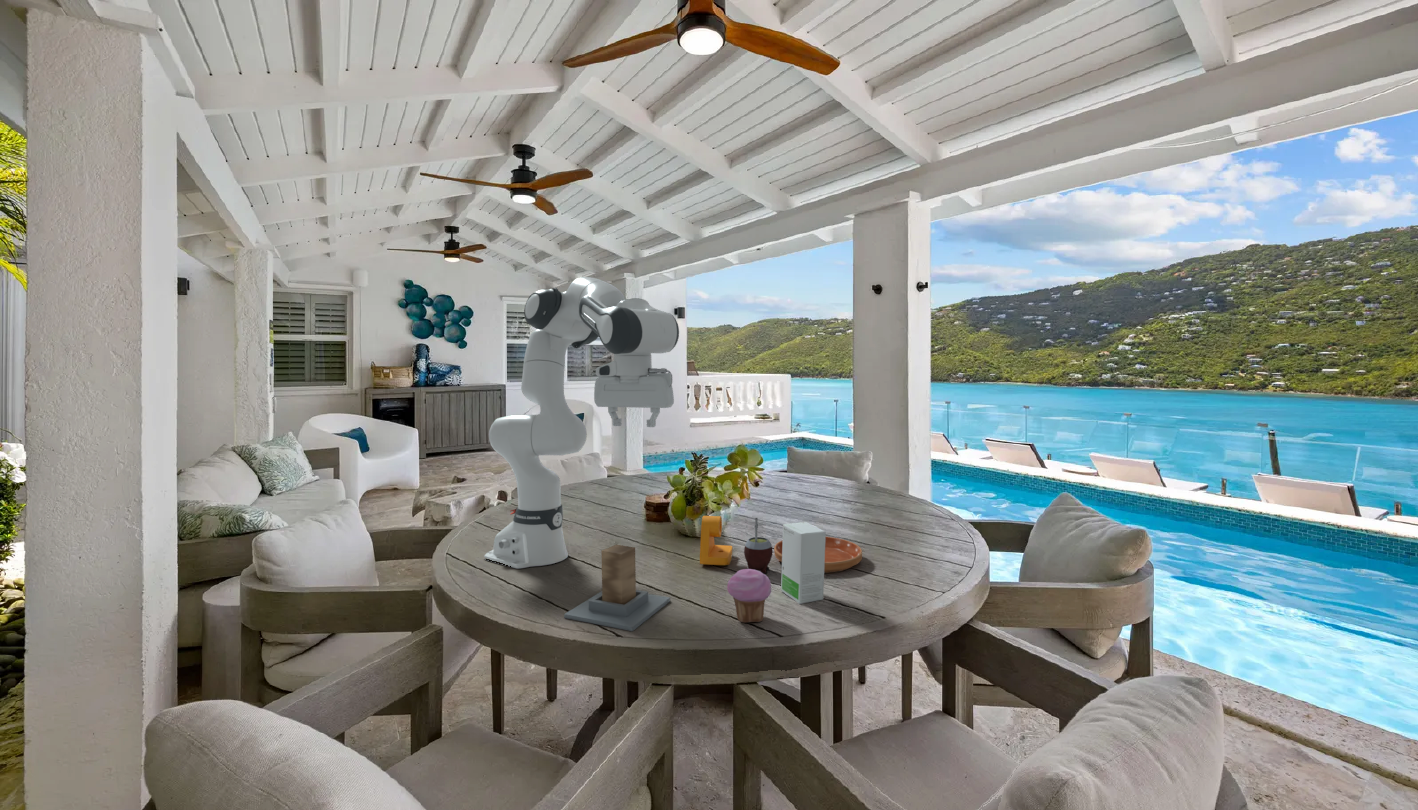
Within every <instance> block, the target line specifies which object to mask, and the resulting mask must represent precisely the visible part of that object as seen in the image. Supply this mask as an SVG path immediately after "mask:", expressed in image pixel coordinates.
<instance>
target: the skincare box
mask: <svg viewBox="0 0 1418 810" xmlns="http://www.w3.org/2000/svg"><path fill="white" fill-rule="evenodd" d="M826 534H827V532H826V530H823V529H821V528H819V527H818V526H817V525H813V524H811V523H809V522H807V521H801V522H792V523H784V524H782V540H783V542H782V562H781V575H780V576H781V580H780V582H781V583H780V585H781V586H780V591H781V592H782V593H783V594H786V596H787V597H789V598H791V599H792V600H794V601H795V602H796V603H797V604H799V605H802V604H807V603H812V602H818V601H823V600H824V592H825V591H824V586H825V585H824V584H825V583H824V582H825V573H824V564H825V537H827V535H826Z"/></svg>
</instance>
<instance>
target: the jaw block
mask: <svg viewBox="0 0 1418 810" xmlns="http://www.w3.org/2000/svg"><path fill="white" fill-rule="evenodd" d="M636 574H637V573H636V547H633V546H629V545H628V546H627V545H623V544H622V545H621V544H614V545H612V546H610V547H607V548H605V549H603V550H601V587H602V588H601V591H602V601H606V602H611V603H617V604H623V605H625V604H626V603H628V602H629V601H631V600H632V599H634V598H635V597H636V590H637V587H636V585H637V581H636V580H637V579H636V577H637V576H636Z"/></svg>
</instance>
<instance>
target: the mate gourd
mask: <svg viewBox="0 0 1418 810" xmlns="http://www.w3.org/2000/svg"><path fill="white" fill-rule="evenodd" d="M758 520H759V519H758V517H755V521H754V537H753V536H752V537H750V538H748V539H747V540H746V542H745V544H744V548H743V554H744V559H745V560H746V564H747V569H753V570H757V571H760V572H762V573H763V574H765V575H766V576H767V575H768V572H767V570H769V569H770V567H768V566H769V565H770V563H771V560H772V558H773V553H774V551H773V545H772V542H771V541H770V540H769V539H768V538H766V537H761V536H758V528H759V524H758V522H759V521H758Z"/></svg>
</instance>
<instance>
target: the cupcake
mask: <svg viewBox="0 0 1418 810" xmlns="http://www.w3.org/2000/svg"><path fill="white" fill-rule="evenodd" d="M727 592H728V594H729V596H731V597H732V598H733V601H734V606H735V610H736V611H735V613H736V617H737V620H738V621H739V622H740V623H760V622H763V619H764V614H765V612H764V611H765V604H766V600H767V599H768V598H769V597H770V595H771V594H772V583H771V579H769V576H767V575H765V574H763V573H762V572H760V571H757V570H753V569H748V568H743V569H740V570H737V571H736V572H735V573H734V574H733V575H732V576H731V577H730V578H729V580H728V581H727Z"/></svg>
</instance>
